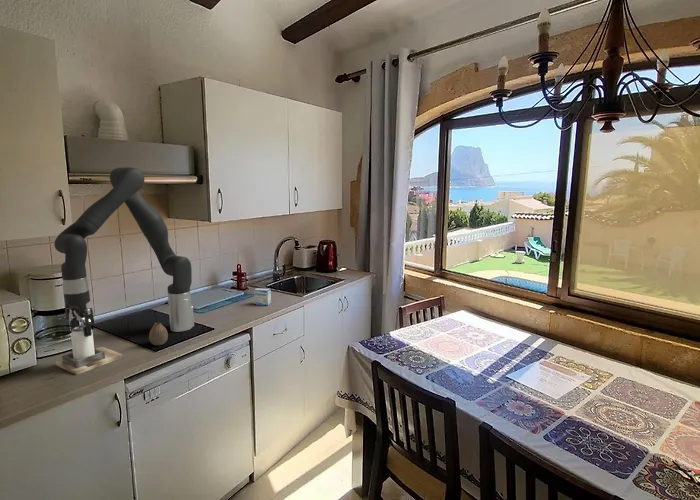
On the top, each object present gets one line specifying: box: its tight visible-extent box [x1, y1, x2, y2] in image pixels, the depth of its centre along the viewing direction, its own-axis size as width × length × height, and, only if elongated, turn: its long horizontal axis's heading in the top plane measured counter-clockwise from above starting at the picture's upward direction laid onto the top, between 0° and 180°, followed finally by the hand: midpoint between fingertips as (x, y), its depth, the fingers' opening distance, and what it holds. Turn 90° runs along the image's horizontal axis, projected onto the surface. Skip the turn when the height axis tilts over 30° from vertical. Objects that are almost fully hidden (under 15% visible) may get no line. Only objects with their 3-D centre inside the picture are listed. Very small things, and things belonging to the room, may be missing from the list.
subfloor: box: [55, 346, 124, 376], centre depth 145 cm, size 16×14×4 cm
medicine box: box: [253, 287, 272, 306], centre depth 214 cm, size 8×4×9 cm, turn 80°
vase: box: [148, 322, 169, 347], centre depth 161 cm, size 7×7×9 cm
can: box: [70, 325, 95, 360], centre depth 142 cm, size 6×6×12 cm
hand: (81, 333), depth 142 cm, fingers open, 8 cm apart
